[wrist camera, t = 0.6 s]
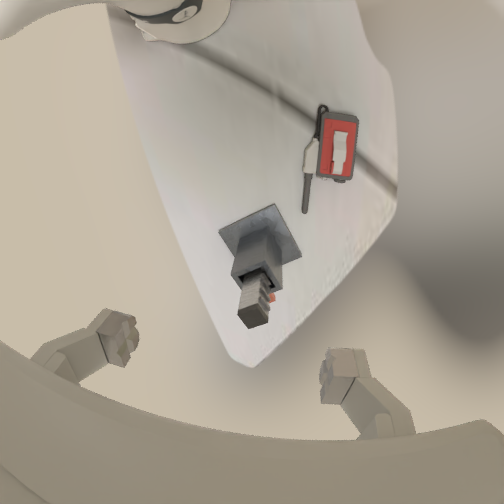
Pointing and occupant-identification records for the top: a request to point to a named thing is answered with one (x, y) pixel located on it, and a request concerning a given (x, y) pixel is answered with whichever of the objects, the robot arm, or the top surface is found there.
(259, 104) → the top surface
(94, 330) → the robot arm
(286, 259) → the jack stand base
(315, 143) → the walkie-talkie
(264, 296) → the column
